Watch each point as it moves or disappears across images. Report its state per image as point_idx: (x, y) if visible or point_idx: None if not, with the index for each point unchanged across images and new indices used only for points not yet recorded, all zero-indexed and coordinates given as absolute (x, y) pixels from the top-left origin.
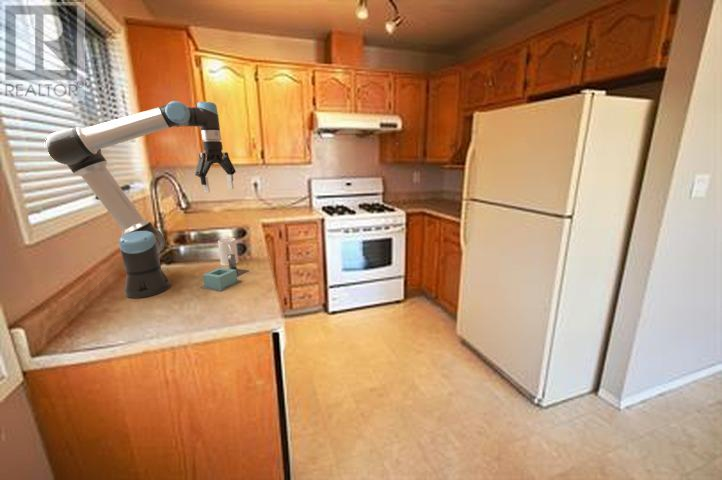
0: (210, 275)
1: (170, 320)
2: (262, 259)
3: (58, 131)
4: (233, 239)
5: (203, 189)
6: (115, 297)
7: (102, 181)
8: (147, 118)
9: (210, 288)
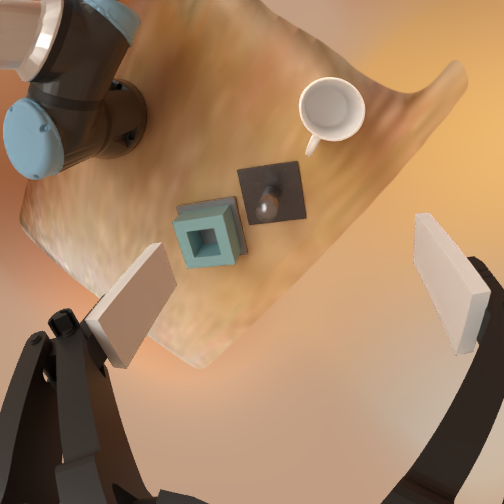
0: (181, 242)
1: (109, 271)
2: (394, 172)
3: None
4: (361, 113)
5: (140, 255)
6: None
7: None
8: None
9: None
